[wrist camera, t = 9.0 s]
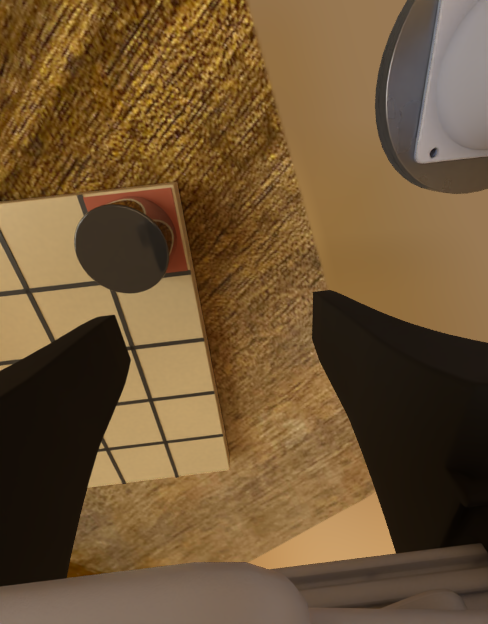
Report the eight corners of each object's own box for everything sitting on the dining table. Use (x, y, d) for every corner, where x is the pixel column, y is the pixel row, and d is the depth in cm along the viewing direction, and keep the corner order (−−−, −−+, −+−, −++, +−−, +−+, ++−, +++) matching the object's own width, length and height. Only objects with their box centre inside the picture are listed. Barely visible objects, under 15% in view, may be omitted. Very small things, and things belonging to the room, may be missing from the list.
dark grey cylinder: (167, 191, 16) (156, 198, 13) (184, 268, 18) (177, 288, 15) (85, 200, 15) (57, 210, 13) (111, 277, 18) (92, 299, 15)
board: (177, 181, 17) (173, 184, 15) (229, 455, 29) (230, 471, 27) (-172, 220, 17) (-209, 227, 15) (27, 480, 29) (17, 497, 27)
